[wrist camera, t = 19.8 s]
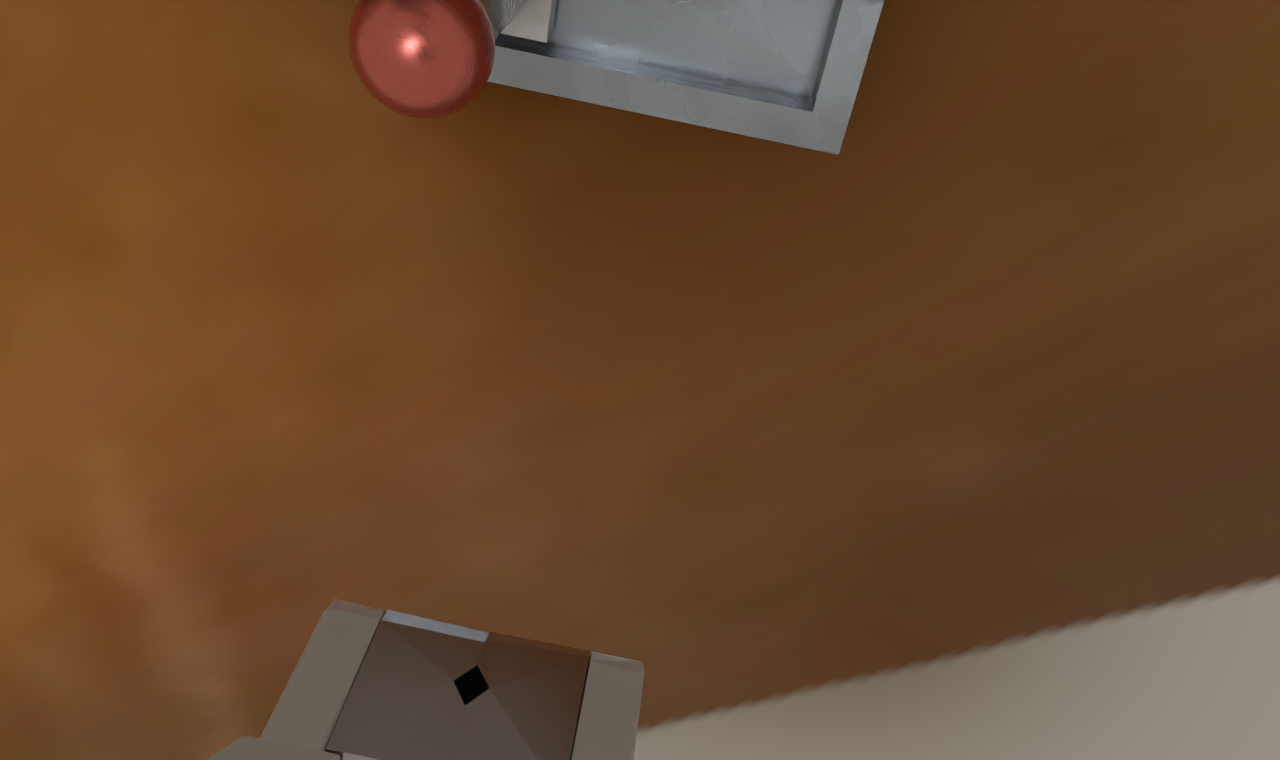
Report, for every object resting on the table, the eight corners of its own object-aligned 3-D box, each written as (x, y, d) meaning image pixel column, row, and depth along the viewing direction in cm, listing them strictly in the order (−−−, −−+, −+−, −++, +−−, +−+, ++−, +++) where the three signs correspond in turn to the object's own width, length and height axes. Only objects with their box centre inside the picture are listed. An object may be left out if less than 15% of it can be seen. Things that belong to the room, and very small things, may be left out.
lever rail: (393, -155, 33) (366, -147, 31) (885, -51, 33) (894, -36, 31) (385, 35, 36) (360, 54, 34) (834, 129, 36) (838, 154, 34)
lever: (441, -96, 32) (319, -33, 24) (566, -69, 32) (492, 4, 24) (432, 20, 34) (318, 119, 25) (551, 45, 34) (477, 153, 26)
